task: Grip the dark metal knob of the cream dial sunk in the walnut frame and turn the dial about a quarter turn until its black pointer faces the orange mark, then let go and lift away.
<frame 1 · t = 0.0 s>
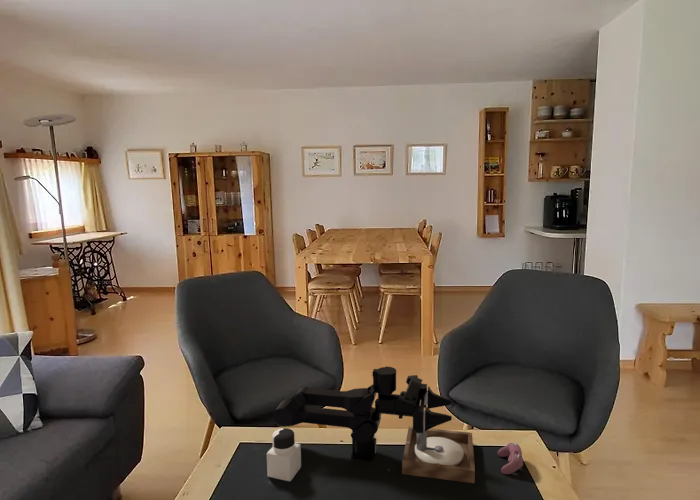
hand: (451, 410, 127), 17 cm above the table, tool horizontal, fingers open, 9 cm apart
dial: (439, 442, 132), point 5 cm above the table, hinge at 0.0°
medicine bottle: (284, 472, 127), on the table
dial frame: (438, 457, 132), on the table
video game controller: (510, 466, 129), on the table
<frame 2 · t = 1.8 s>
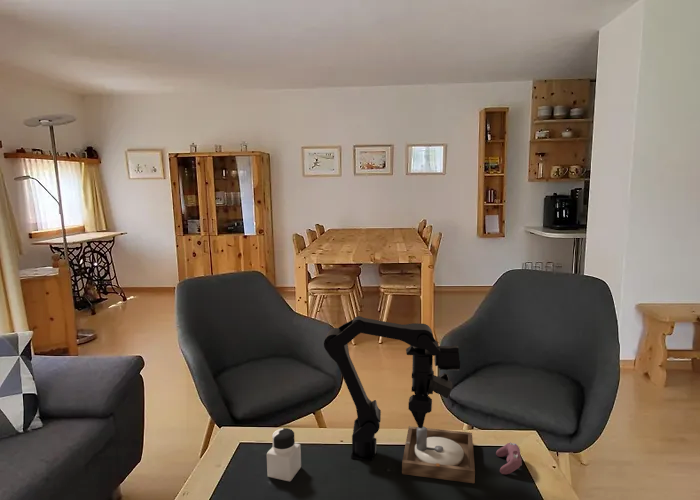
hand: (421, 419, 132), 11 cm above the table, tool pointing down, fingers open, 9 cm apart
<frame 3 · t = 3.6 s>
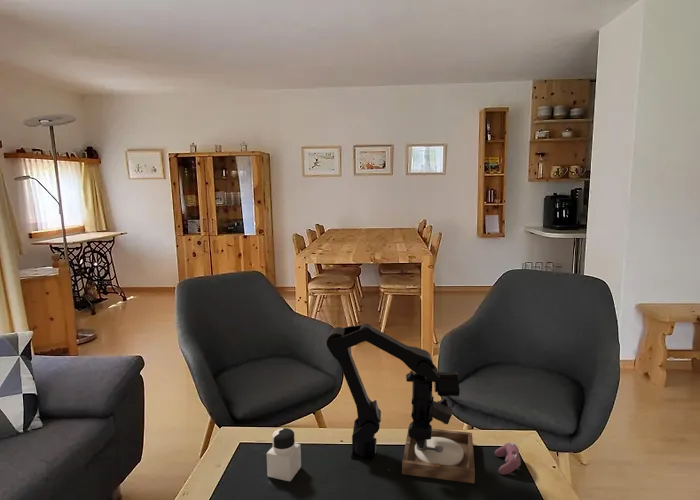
hand: (421, 444, 133), 4 cm above the table, tool pointing down, fingers closed on dial, 3 cm apart
dial: (439, 442, 132), point 5 cm above the table, hinge at 0.0°, touching gripper
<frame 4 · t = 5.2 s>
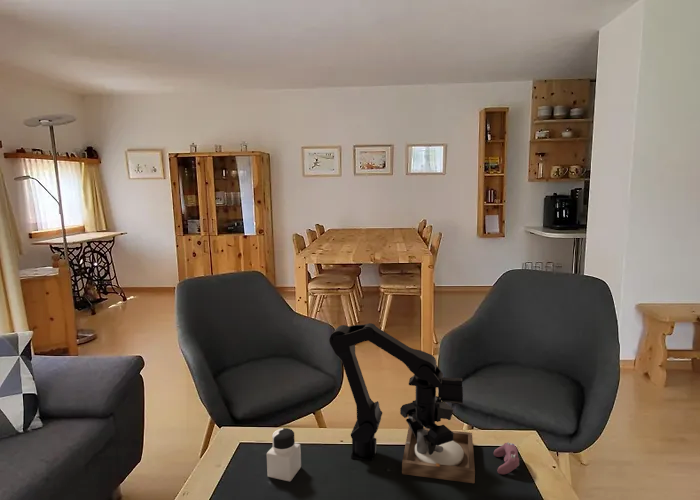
hand: (425, 449, 131), 3 cm above the table, tool pointing down, fingers open, 5 cm apart
dial: (439, 442, 132), point 5 cm above the table, hinge at 16.4°, touching gripper
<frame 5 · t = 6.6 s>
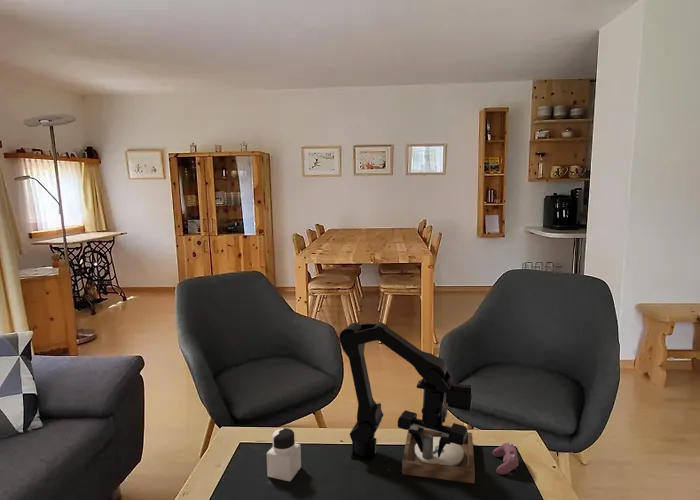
hand: (430, 454, 129), 3 cm above the table, tool pointing down, fingers open, 5 cm apart
dial: (439, 442, 132), point 5 cm above the table, hinge at 52.2°, touching gripper
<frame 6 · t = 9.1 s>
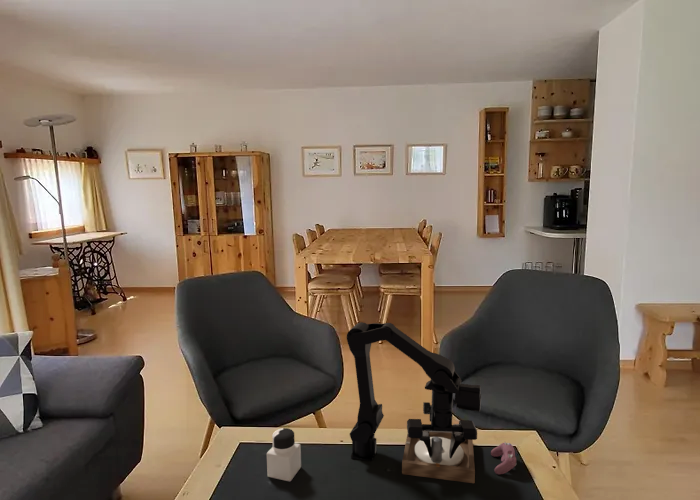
hand: (440, 457, 127), 3 cm above the table, tool pointing down, fingers open, 5 cm apart
dial: (439, 442, 132), point 5 cm above the table, hinge at 83.9°, touching gripper
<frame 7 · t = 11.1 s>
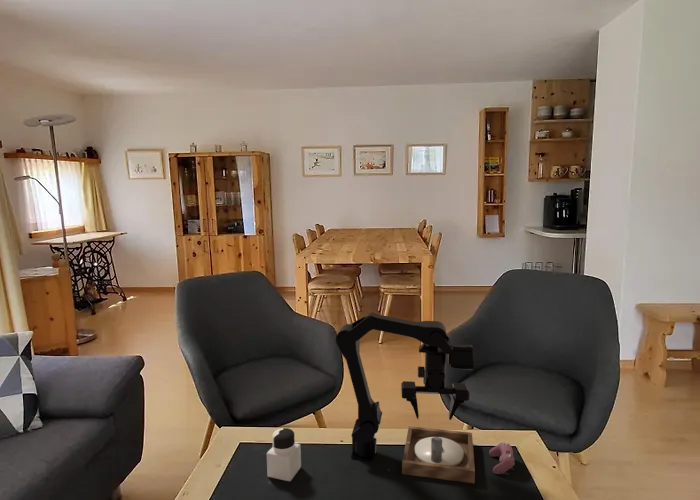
hand: (433, 418, 130), 13 cm above the table, tool pointing down, fingers open, 9 cm apart
dial: (439, 442, 132), point 5 cm above the table, hinge at 83.9°
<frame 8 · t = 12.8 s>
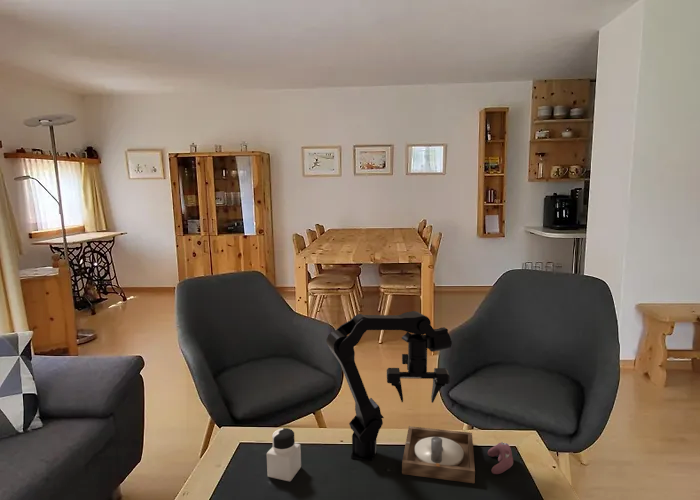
hand: (417, 401, 139), 13 cm above the table, tool pointing down, fingers open, 9 cm apart
at the end: dial at +84° (first picture: +0°) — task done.
